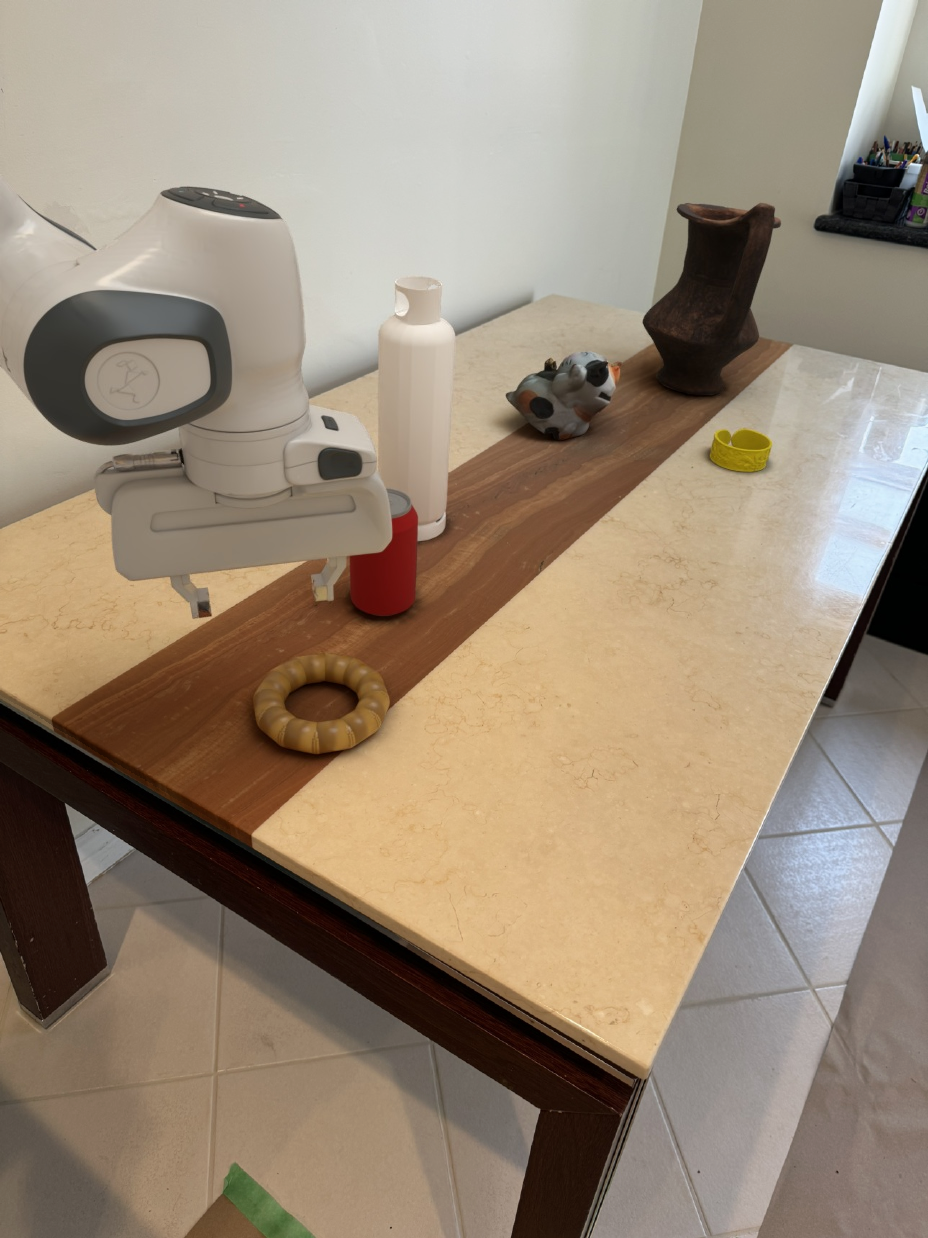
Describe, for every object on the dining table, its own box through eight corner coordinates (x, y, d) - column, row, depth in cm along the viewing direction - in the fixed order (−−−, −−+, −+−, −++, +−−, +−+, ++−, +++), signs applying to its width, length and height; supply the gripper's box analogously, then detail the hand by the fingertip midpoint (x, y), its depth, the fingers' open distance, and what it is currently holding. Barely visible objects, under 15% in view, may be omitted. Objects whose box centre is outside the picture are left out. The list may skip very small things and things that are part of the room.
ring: (264, 770, 71) (261, 747, 70) (248, 680, 80) (245, 658, 79) (401, 745, 75) (402, 723, 73) (372, 661, 83) (372, 640, 82)
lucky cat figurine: (539, 397, 138) (594, 323, 130) (590, 448, 135) (649, 376, 127) (489, 396, 126) (546, 315, 118) (544, 453, 123) (606, 373, 115)
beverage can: (424, 593, 93) (429, 493, 86) (400, 628, 88) (402, 525, 81) (366, 578, 95) (366, 479, 87) (339, 612, 89) (336, 509, 82)
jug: (615, 365, 152) (648, 174, 134) (711, 362, 156) (755, 177, 138) (666, 415, 135) (710, 206, 118) (772, 410, 140) (830, 207, 122)
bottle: (457, 532, 103) (473, 290, 87) (397, 547, 100) (401, 298, 83) (424, 501, 109) (433, 268, 92) (366, 515, 105) (364, 275, 89)
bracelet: (776, 470, 122) (782, 449, 120) (724, 473, 120) (730, 452, 118) (750, 447, 128) (756, 426, 126) (701, 450, 126) (706, 428, 124)
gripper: (86, 479, 55) (124, 648, 64) (398, 452, 61) (396, 611, 69) (88, 436, 60) (124, 599, 69) (378, 415, 66) (379, 568, 74)
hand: (263, 605), depth 69 cm, fingers open, 8 cm apart
